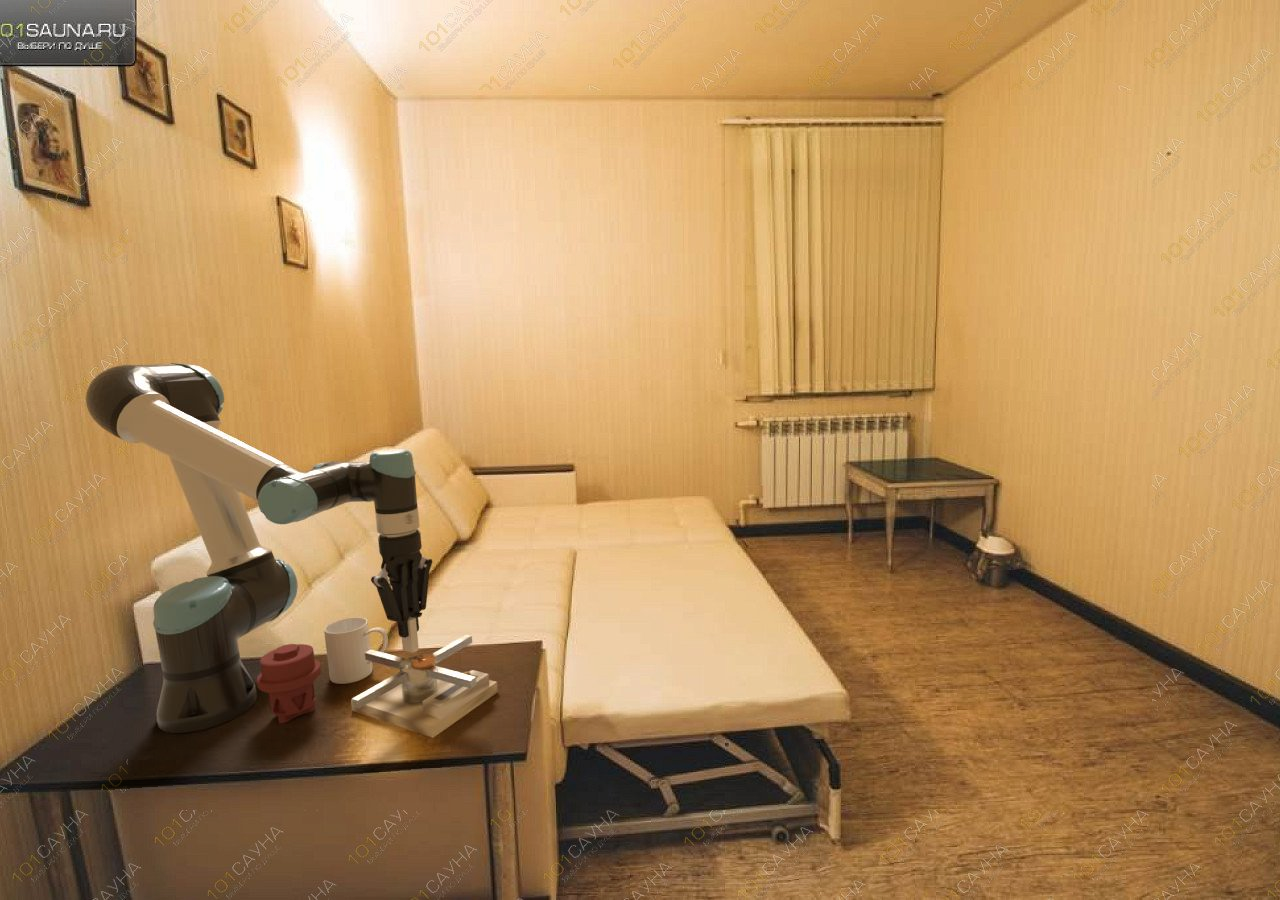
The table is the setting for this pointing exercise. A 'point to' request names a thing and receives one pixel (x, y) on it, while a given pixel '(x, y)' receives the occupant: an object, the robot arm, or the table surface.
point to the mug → (350, 649)
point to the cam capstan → (416, 674)
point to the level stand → (431, 705)
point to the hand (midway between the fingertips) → (410, 650)
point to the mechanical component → (289, 680)
